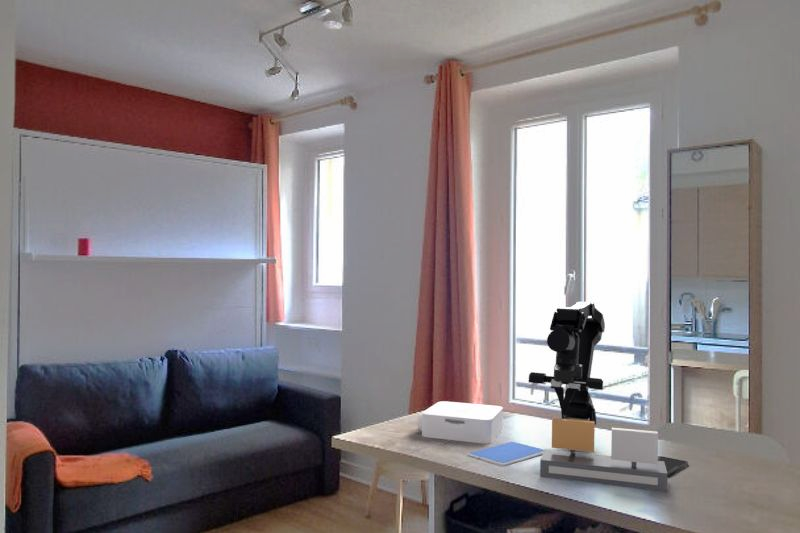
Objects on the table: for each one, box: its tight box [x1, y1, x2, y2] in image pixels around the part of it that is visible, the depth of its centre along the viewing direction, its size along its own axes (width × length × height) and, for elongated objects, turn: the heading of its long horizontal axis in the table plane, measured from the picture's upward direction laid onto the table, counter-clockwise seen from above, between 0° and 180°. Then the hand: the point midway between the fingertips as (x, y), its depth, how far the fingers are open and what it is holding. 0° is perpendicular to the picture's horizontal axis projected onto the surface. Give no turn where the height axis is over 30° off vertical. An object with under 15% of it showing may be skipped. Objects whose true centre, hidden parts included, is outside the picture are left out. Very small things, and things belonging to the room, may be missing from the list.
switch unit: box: [539, 448, 668, 492], centre depth 154 cm, size 10×28×4 cm, turn 72°
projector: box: [417, 400, 504, 444], centre depth 196 cm, size 21×22×7 cm
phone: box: [658, 455, 689, 478], centre depth 163 cm, size 8×1×15 cm
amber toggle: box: [551, 417, 596, 454], centre depth 158 cm, size 2×10×8 cm, turn 72°
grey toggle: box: [610, 427, 659, 466], centre depth 149 cm, size 2×10×8 cm, turn 71°
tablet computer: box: [467, 441, 545, 467], centre depth 172 cm, size 19×13×1 cm, turn 132°
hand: (563, 414), depth 169 cm, fingers closed
